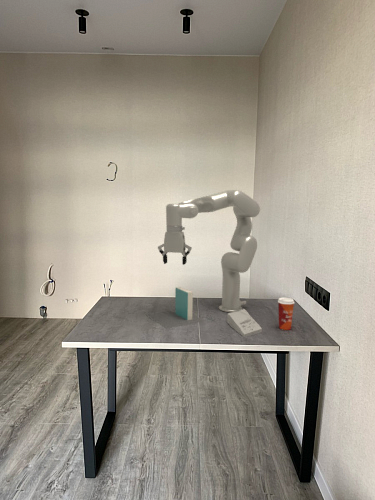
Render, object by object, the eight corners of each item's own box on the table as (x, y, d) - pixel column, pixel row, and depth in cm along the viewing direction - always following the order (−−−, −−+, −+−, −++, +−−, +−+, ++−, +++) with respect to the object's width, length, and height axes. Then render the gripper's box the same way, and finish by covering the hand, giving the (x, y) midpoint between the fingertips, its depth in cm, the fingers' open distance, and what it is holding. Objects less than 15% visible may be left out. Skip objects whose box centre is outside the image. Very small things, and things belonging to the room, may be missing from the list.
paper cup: (284, 331, 173) (285, 302, 171) (273, 326, 179) (274, 298, 178) (297, 329, 176) (298, 300, 174) (285, 324, 183) (287, 296, 181)
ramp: (263, 339, 165) (264, 327, 164) (227, 337, 166) (227, 325, 165) (257, 318, 192) (258, 308, 192) (226, 317, 194) (226, 307, 193)
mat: (182, 310, 204) (182, 309, 204) (205, 321, 186) (205, 320, 186) (146, 316, 193) (146, 315, 193) (165, 329, 174) (165, 328, 174)
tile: (180, 313, 198) (180, 287, 196) (192, 319, 188) (192, 292, 186) (175, 313, 196) (175, 287, 194) (187, 320, 186) (187, 292, 184)
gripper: (193, 228, 184) (193, 263, 186) (160, 228, 189) (161, 261, 191) (189, 230, 177) (189, 266, 179) (154, 229, 182) (155, 264, 184)
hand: (174, 263), depth 185 cm, fingers open, 9 cm apart
